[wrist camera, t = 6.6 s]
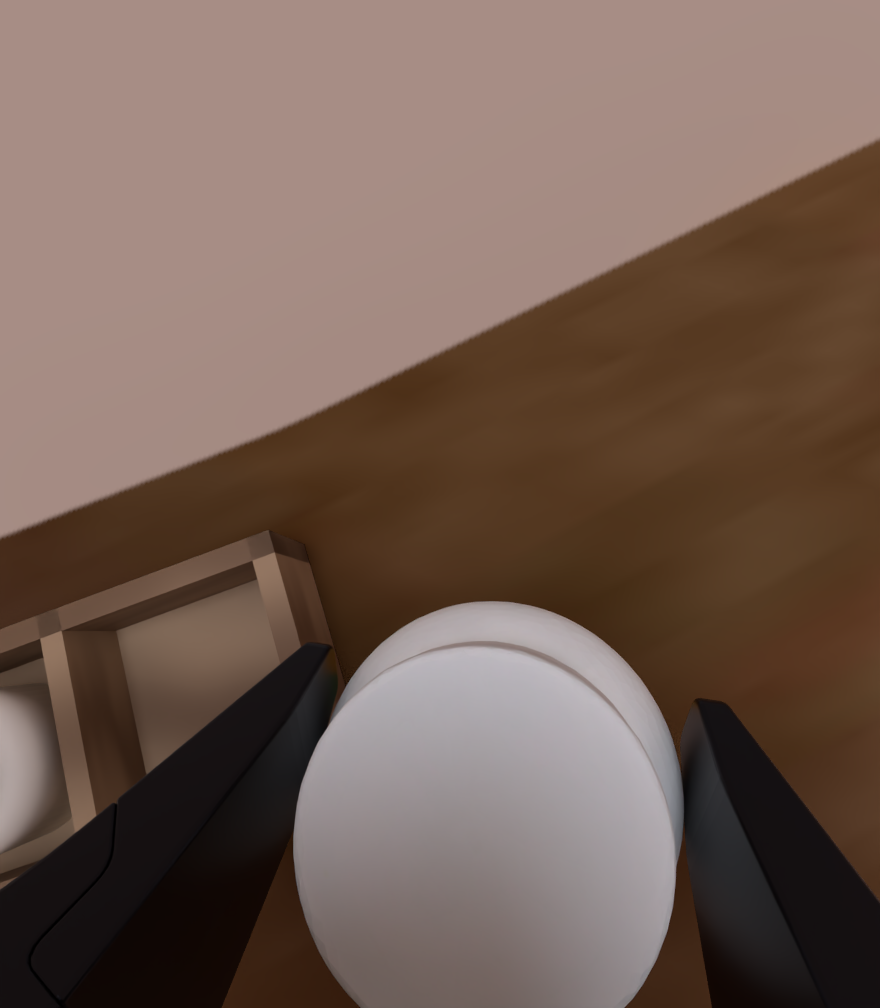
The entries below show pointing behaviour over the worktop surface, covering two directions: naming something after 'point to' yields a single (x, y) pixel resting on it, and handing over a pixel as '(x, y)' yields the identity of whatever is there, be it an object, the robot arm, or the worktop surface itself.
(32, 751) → the jar
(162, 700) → the crate
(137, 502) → the worktop surface
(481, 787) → the supplement bottle
